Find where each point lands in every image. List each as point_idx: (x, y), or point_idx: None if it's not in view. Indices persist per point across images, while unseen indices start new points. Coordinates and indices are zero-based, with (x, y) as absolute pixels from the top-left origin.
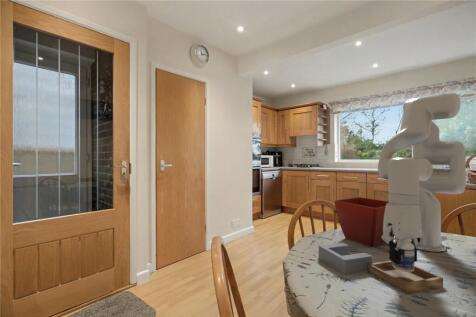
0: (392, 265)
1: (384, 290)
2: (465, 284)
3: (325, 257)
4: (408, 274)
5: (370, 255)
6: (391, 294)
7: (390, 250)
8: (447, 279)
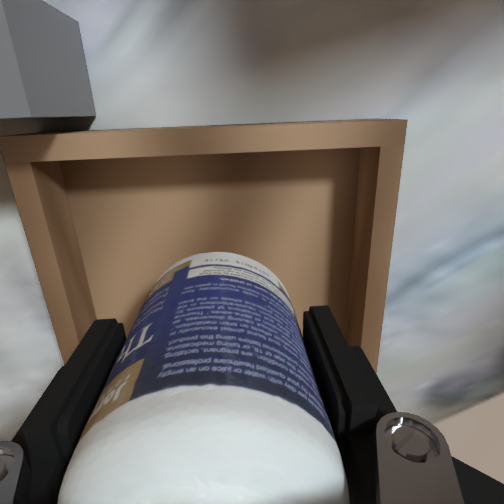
0: (158, 278)
1: (4, 349)
2: (487, 383)
3: None
4: (290, 265)
5: (24, 90)
6: (18, 382)
7: (17, 438)
8: (469, 332)
